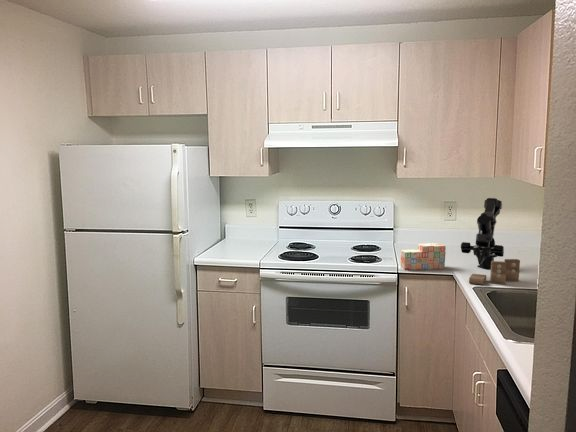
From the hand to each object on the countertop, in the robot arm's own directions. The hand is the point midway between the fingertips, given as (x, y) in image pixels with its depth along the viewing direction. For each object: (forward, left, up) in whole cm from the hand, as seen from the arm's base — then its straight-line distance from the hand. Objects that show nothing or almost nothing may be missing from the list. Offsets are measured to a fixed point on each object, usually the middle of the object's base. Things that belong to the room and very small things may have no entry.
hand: (479, 264), depth 224 cm
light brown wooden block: (-4, +7, -8) cm, 11 cm away
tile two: (-13, +6, -8) cm, 17 cm away
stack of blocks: (+9, -30, -8) cm, 32 cm away
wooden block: (-1, -1, -6) cm, 7 cm away
